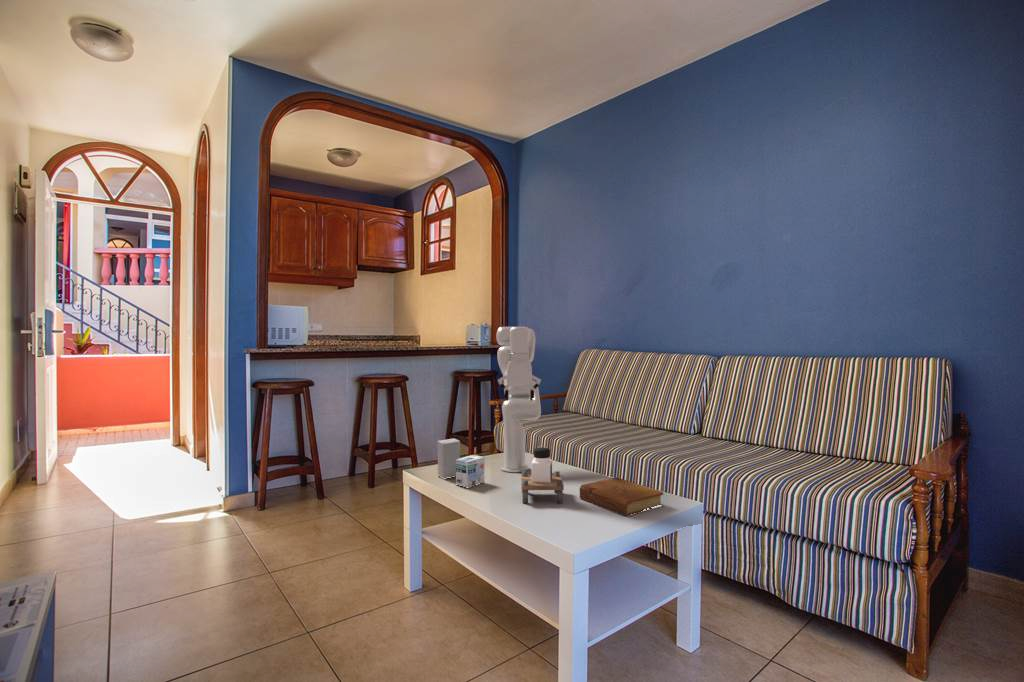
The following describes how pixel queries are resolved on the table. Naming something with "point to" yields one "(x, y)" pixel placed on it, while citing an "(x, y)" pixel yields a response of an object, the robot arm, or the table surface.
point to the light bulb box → (469, 470)
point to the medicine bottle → (541, 465)
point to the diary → (620, 495)
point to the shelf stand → (542, 486)
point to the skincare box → (448, 457)
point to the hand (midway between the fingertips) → (519, 400)
